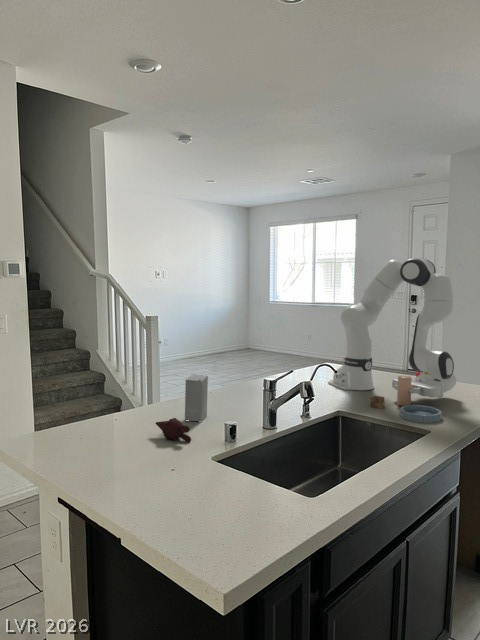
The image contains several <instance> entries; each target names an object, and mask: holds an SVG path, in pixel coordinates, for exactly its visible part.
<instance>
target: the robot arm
mask: <svg viewBox="0 0 480 640" xmlns="http://www.w3.org/2000/svg"><path fill="white" fill-rule="evenodd" d="M404 282H405V283H407V284H410V285H414V286H417V287H421V288H422V289H423V307H422V309H421V312H420V313H418V315H417V317H416V320H415V321H416V322H415V326H414V332H413V337H412V343H411V344H412V345H411V350H410V352H409V356H408V363H409V364H408V365H410V366H409V367H410V368H411V369H412V370H413V371H414V372H428V374H424V375H418V376H417V377H415V378H414V379H412V381H411V388H409V389H408V393H411V395H412V394H417V395H419V396H421V397H428V398H444V393H446V392H449V391H451V390H452V389H453V388H454V387H455V386H456V384H457V378H456V375H455V374H454V370H455V369H454V368H455V367H454V366H455V362H454V360H453V358H452V355H451V354H450V353H449V352H448V351H444V350H432V349H431V350H430V349H427V347H426V345H427V339H428V335H429V330H430V328H432V326H434V325H436V324H439V323H441V322H444V321H445V320H447V319H448V318H450V316H451V314H452V312H453V297H454V296H453V294H454V293H453V287H452V281H451V278H450V277H449V276H448V275H446V274H443V273H437V270H436V266H435V264H434V263H433V262H432V261H430V260H429V259H427V258H426V259H425V258H423V257H422V258H421V257H419V258H418V257H415V258H409V259H407V260H405V261H404V262H402V261H400V260H398V259H390V260H389V261H387V262H386V263H385V264H384V265H382V267H381V268H380V269H379V270H378V272H376V274H375V275H374V276H373V278H372V279H371V281H370V282H369V283H368V285H367V286H366V287H365V288H364V292H363V294H362V296H361V297H360V300H359V302H358V303H356V304H351V305H349V306H347V307H346V308H345V309H343V310H342V312H341V314H340V321H341V323H342V325H343V327H344V331H345V336H346V357H342V361H344V362H343V364H342V365H341V366H340V367H339V368H337V369H336V370H335V371H337V373H335V371H334V372H333V378H332V379H331V380H328V382H327V384H328V385H331V386H334V387H337V388H338V389H341V390H345V391H349V390H350V391H369V390H374V389H375V386H374V385H375V384H374V379H373V369H372V366H373V357H372V345H373V343H372V340H371V337H370V333H369V329H368V328H369V327H371V325H373V324H374V323H375V322H376V321H377V319H378V317H379V315H380V313H381V312H382V310H383V308H384V306H385V304H386V303H387V302H388V300H390V298H391V297H392V296H393V294H394V293H395V292H396V291H397V289H398V288H399V286H401V284H402V283H404ZM391 387H392V388H393V389H394V390H396V391H397V387H398V377H397V378H393V379H392V381H391Z"/></svg>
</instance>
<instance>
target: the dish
mask: <svg viewBox="0 0 480 640" xmlns="http://www.w3.org/2000/svg"><path fill="white" fill-rule="evenodd" d="M399 416H400V417H401V418H402V419H403V418H404V419H403V420H406V419H407V420H406V421H409V422H414V421H415V422H416V423H421V422H422V424H427V423H428V424H429V423H437V422H440V421H441V420H442V417H443V416H442V410H440V409H439V408H437V407H433V406H428V405H421V404H411V405H407V406H402V405H401V407H400V408H399ZM415 422H414V423H415Z"/></svg>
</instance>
